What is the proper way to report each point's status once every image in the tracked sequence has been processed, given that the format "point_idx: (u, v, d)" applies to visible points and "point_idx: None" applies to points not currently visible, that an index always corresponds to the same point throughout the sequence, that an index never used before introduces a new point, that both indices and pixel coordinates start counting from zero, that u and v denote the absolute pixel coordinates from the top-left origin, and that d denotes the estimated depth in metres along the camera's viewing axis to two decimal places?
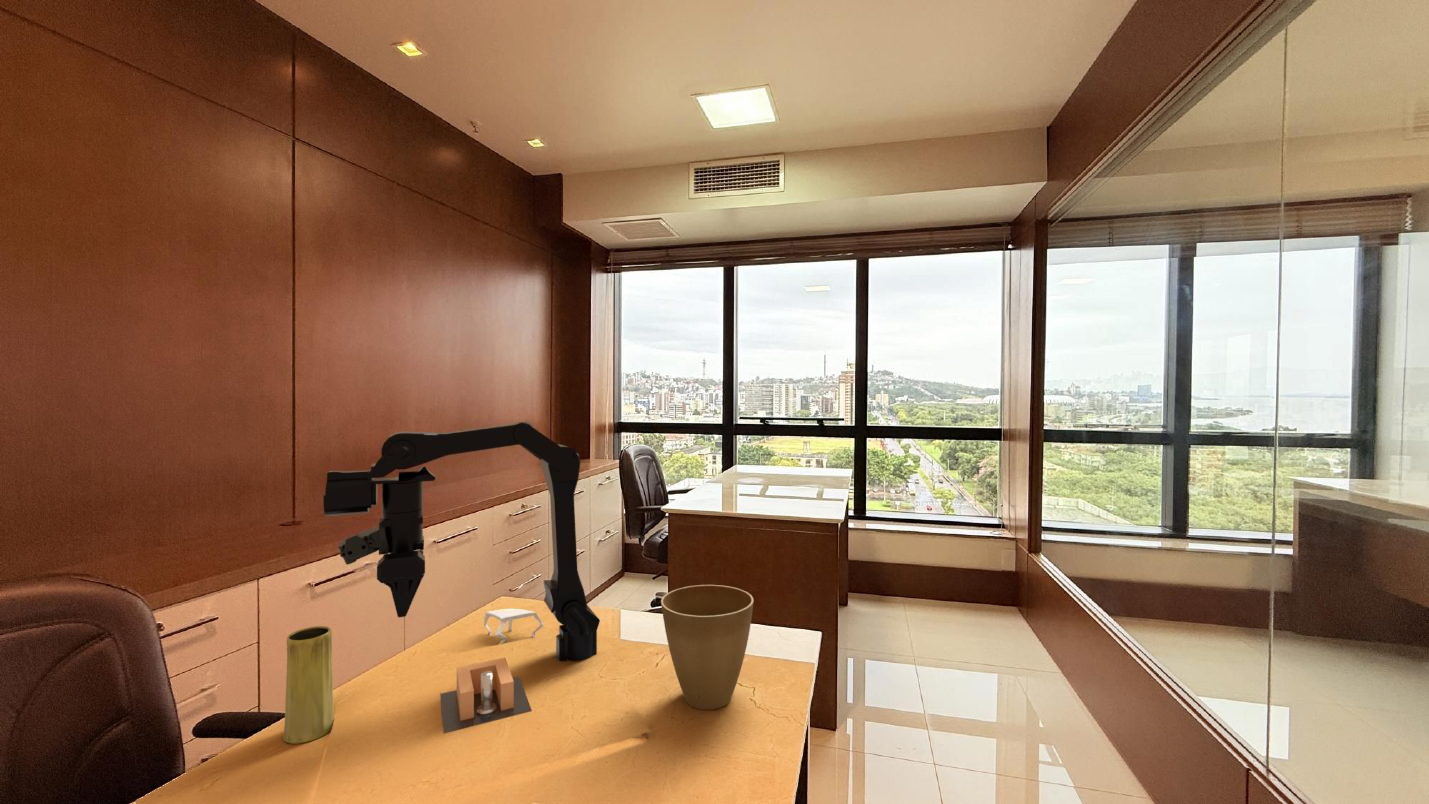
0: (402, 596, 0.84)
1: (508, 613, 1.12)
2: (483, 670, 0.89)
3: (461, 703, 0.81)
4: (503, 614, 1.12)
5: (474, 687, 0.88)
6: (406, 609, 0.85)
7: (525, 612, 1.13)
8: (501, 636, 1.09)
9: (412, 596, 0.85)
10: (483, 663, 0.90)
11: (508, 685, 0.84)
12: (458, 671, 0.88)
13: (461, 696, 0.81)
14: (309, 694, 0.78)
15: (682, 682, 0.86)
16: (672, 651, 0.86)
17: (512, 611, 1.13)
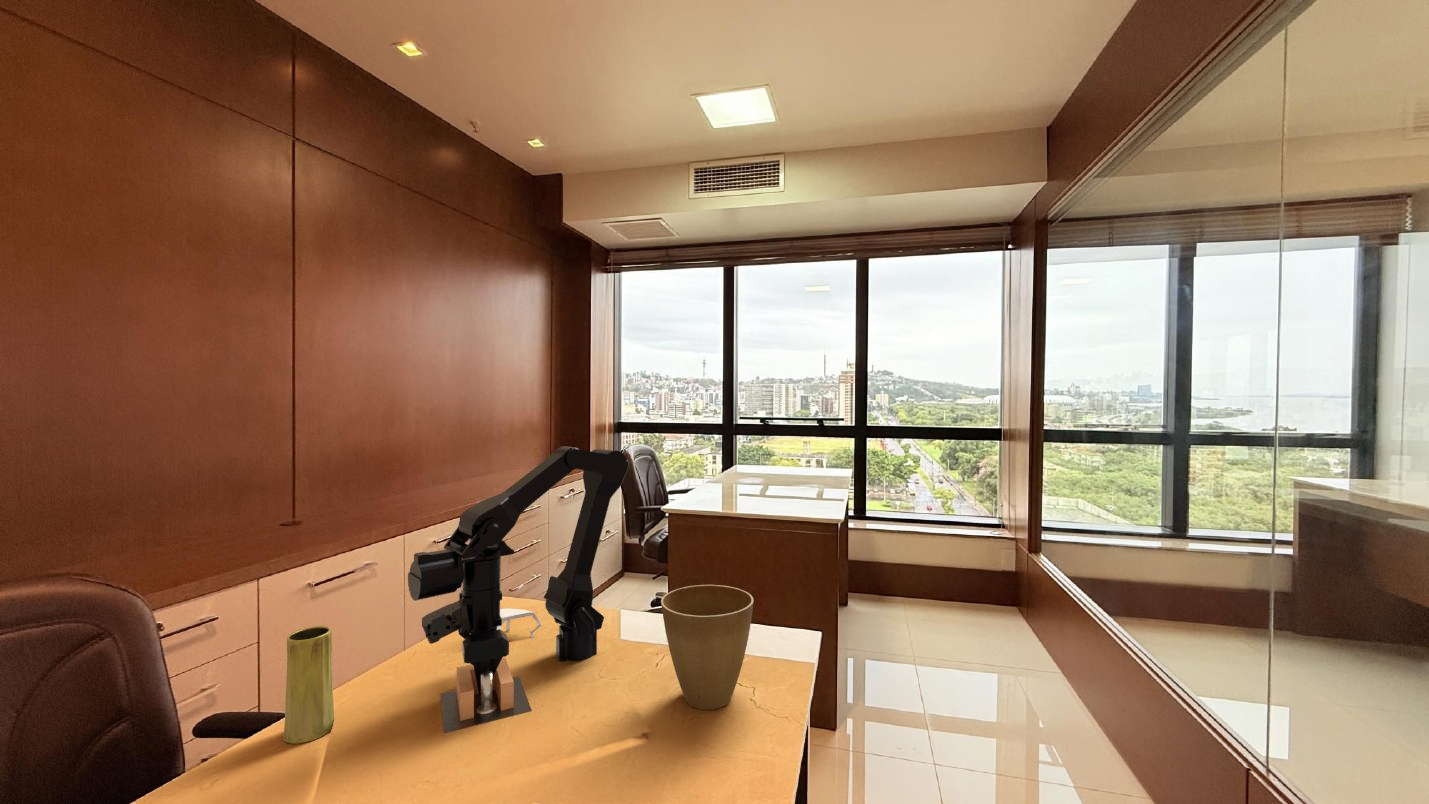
0: None
1: (506, 613, 1.12)
2: None
3: (461, 703, 0.81)
4: (501, 614, 1.12)
5: (474, 687, 0.88)
6: None
7: (523, 612, 1.13)
8: None
9: (493, 672, 0.86)
10: None
11: (508, 685, 0.84)
12: (458, 671, 0.88)
13: (461, 696, 0.81)
14: (309, 694, 0.78)
15: (682, 682, 0.86)
16: (672, 651, 0.86)
17: (510, 611, 1.13)
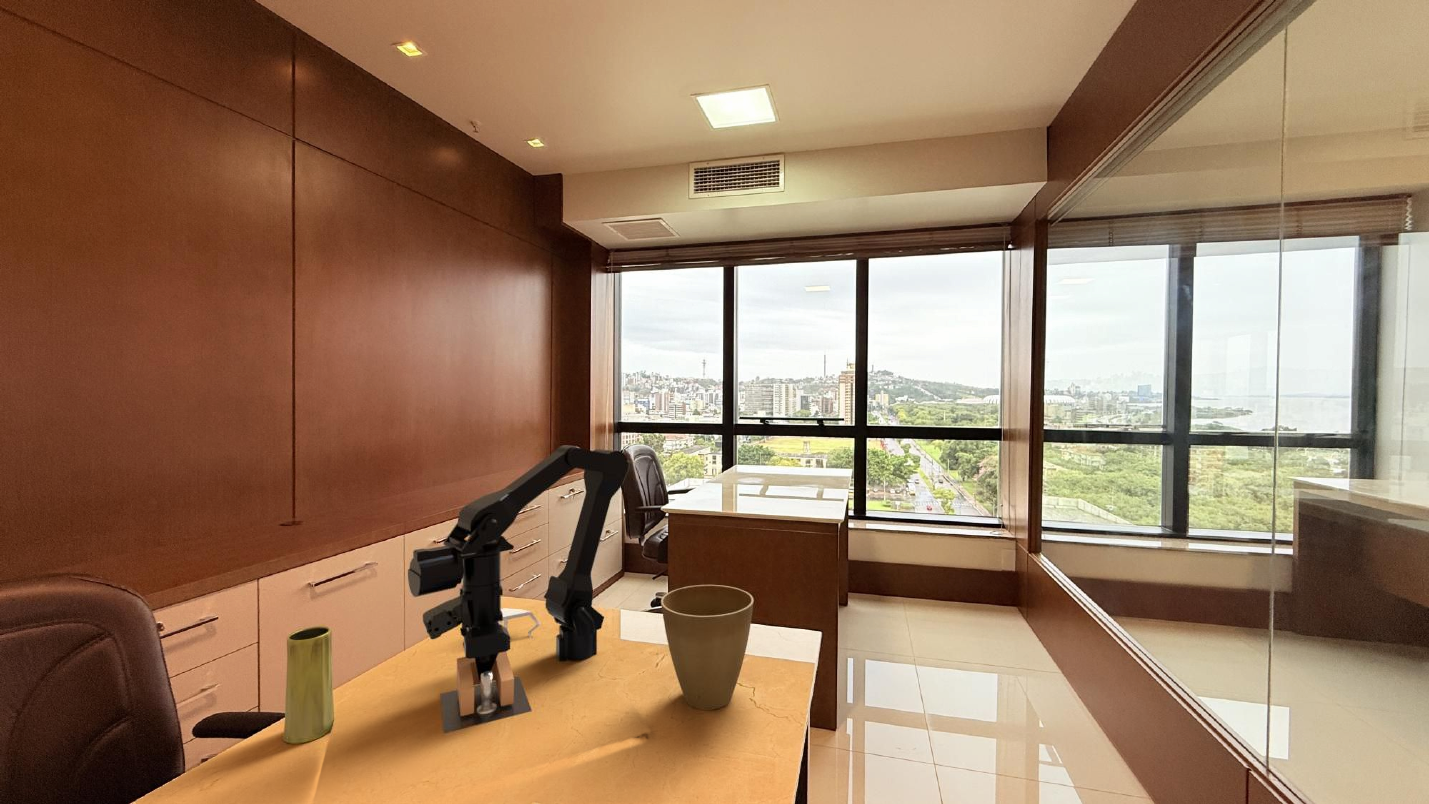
0: (484, 661, 0.88)
1: (504, 613, 1.12)
2: None
3: (461, 700, 0.81)
4: None
5: (474, 678, 0.89)
6: None
7: (521, 612, 1.13)
8: None
9: (493, 660, 0.89)
10: None
11: (508, 683, 0.84)
12: (458, 663, 0.88)
13: (461, 693, 0.81)
14: (309, 694, 0.78)
15: (682, 682, 0.86)
16: (672, 651, 0.86)
17: (508, 611, 1.13)
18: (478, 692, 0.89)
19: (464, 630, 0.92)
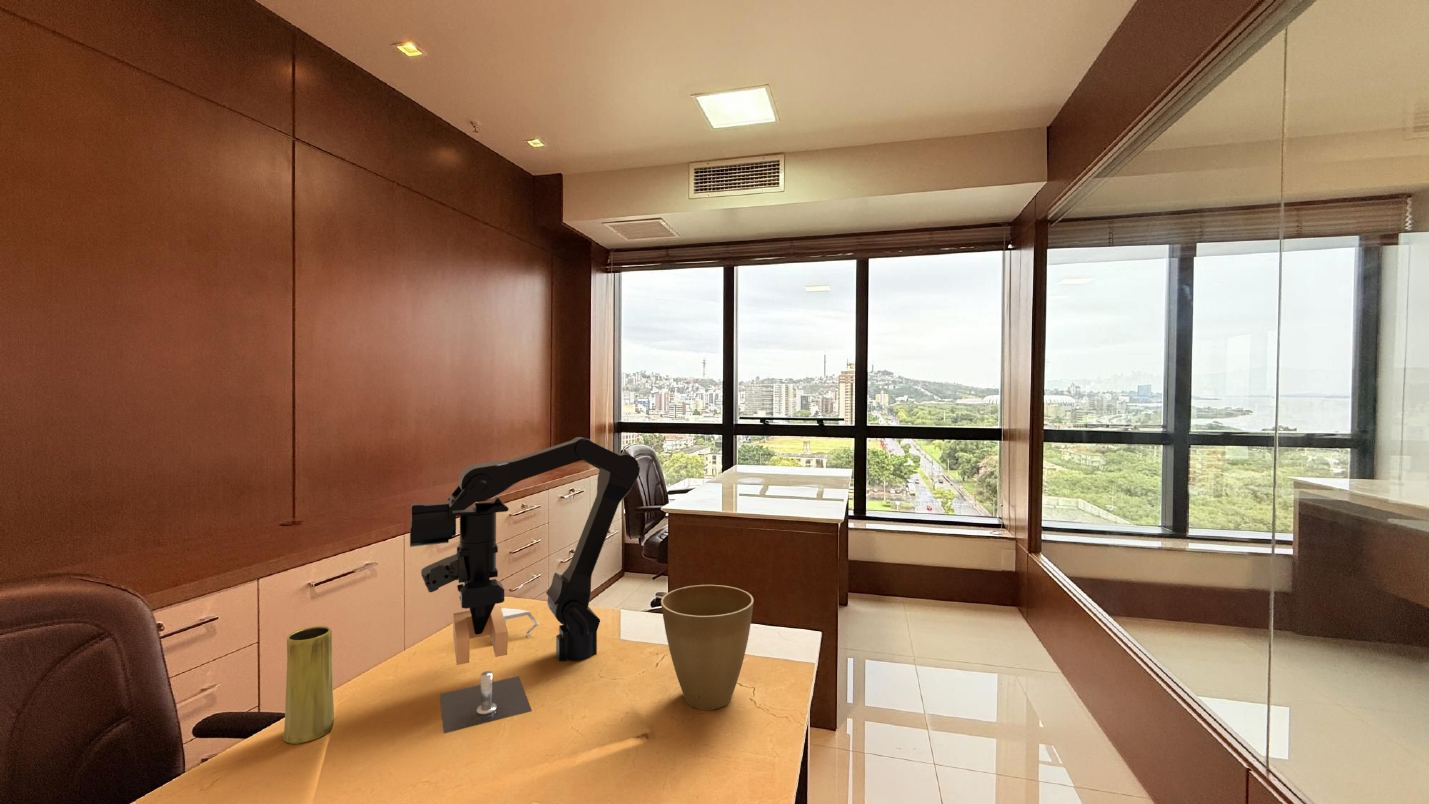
0: (479, 615, 0.92)
1: None
2: None
3: (457, 649, 0.85)
4: None
5: (470, 632, 0.93)
6: (482, 627, 0.93)
7: (519, 612, 1.13)
8: None
9: (488, 615, 0.93)
10: None
11: (502, 635, 0.88)
12: (455, 617, 0.92)
13: (457, 643, 0.85)
14: (309, 694, 0.78)
15: (682, 682, 0.86)
16: (672, 651, 0.86)
17: (506, 611, 1.13)
18: (478, 692, 0.89)
19: (461, 587, 0.96)
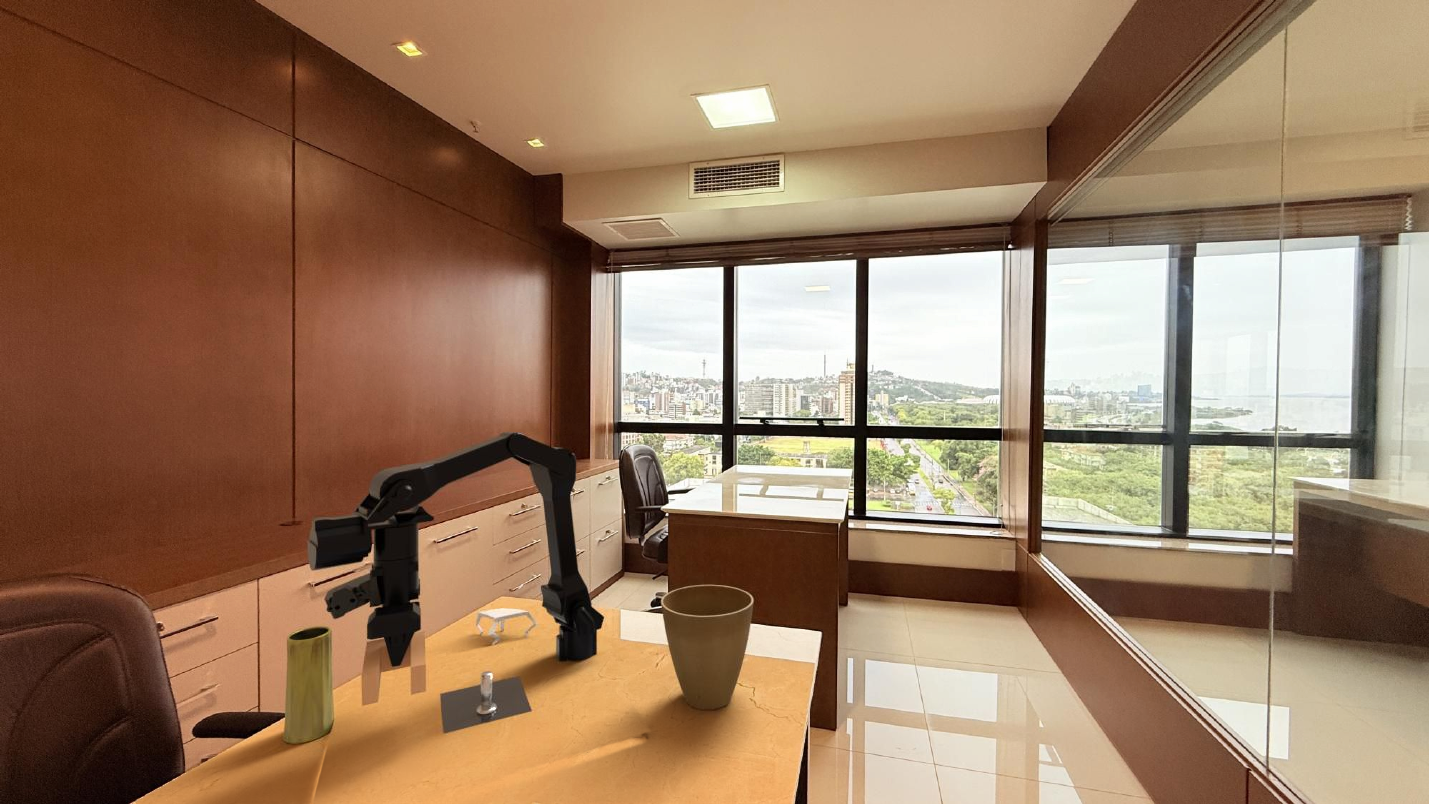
0: (396, 644, 0.79)
1: (501, 613, 1.12)
2: None
3: (362, 687, 0.72)
4: (496, 614, 1.12)
5: (386, 664, 0.80)
6: (401, 658, 0.80)
7: (518, 611, 1.13)
8: (494, 636, 1.09)
9: (407, 643, 0.80)
10: None
11: (419, 669, 0.75)
12: (367, 647, 0.78)
13: (362, 680, 0.72)
14: (309, 694, 0.78)
15: (682, 682, 0.86)
16: (672, 651, 0.86)
17: (505, 611, 1.13)
18: (478, 692, 0.89)
19: None
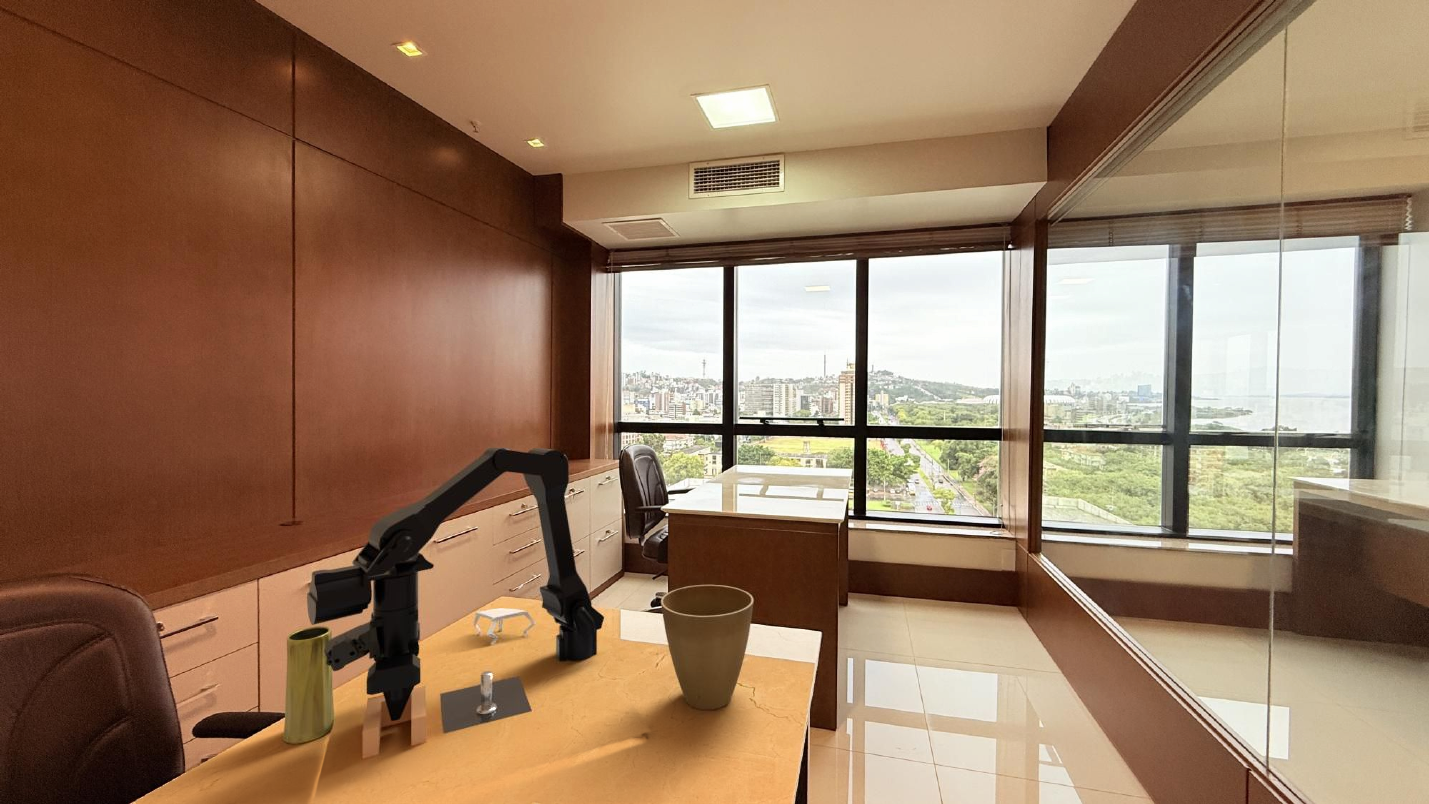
0: (396, 699, 0.78)
1: (499, 613, 1.12)
2: None
3: (363, 741, 0.73)
4: (494, 614, 1.12)
5: (386, 720, 0.80)
6: (400, 712, 0.78)
7: (516, 611, 1.13)
8: (493, 636, 1.09)
9: (407, 697, 0.78)
10: None
11: (419, 720, 0.76)
12: (368, 703, 0.79)
13: (363, 734, 0.73)
14: (309, 694, 0.78)
15: (682, 682, 0.86)
16: (672, 651, 0.86)
17: (503, 611, 1.13)
18: (478, 692, 0.89)
19: None
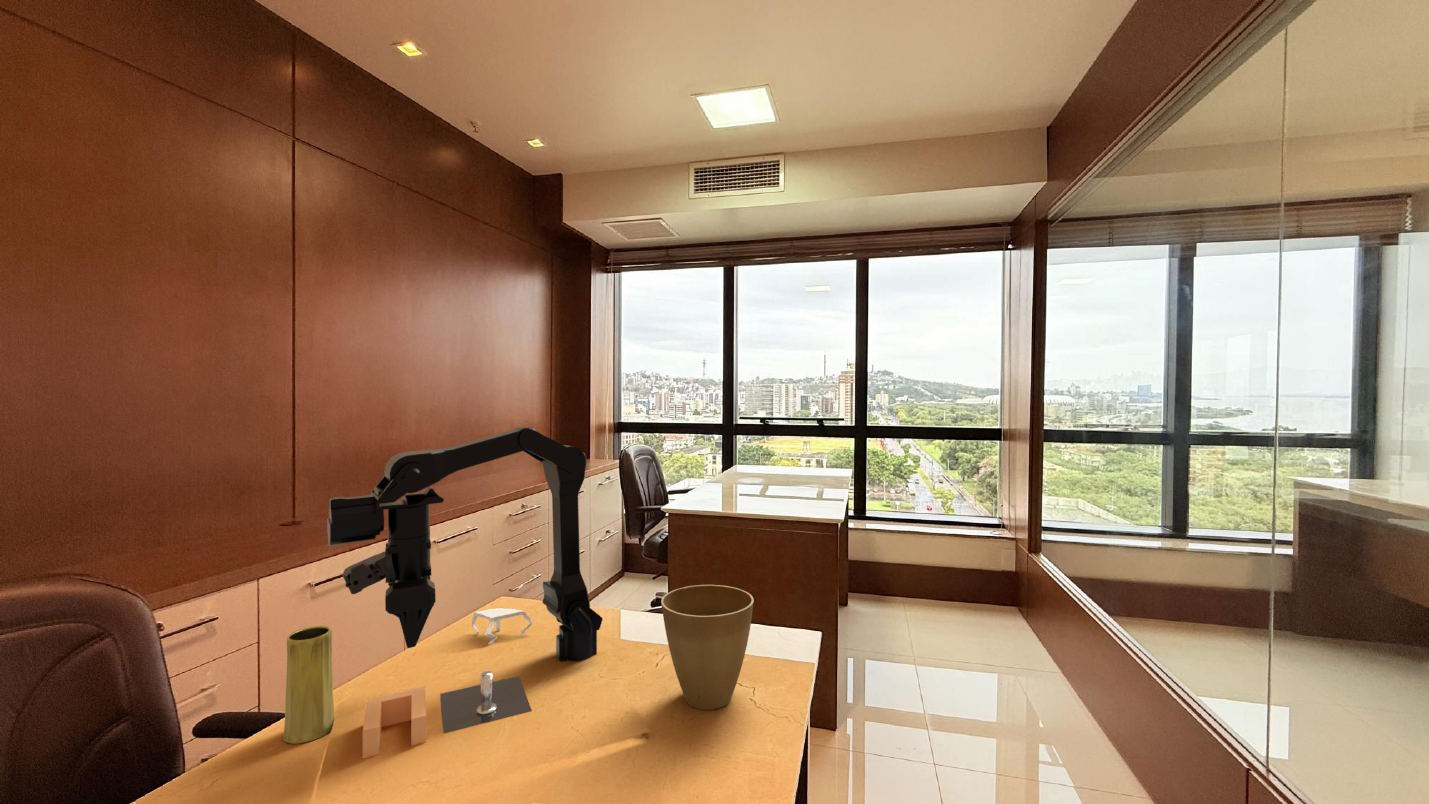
0: (411, 626, 0.80)
1: (497, 613, 1.12)
2: (397, 701, 0.80)
3: (363, 741, 0.73)
4: (492, 614, 1.12)
5: (386, 720, 0.80)
6: (416, 639, 0.81)
7: (514, 611, 1.13)
8: (491, 636, 1.09)
9: (422, 625, 0.81)
10: (398, 693, 0.82)
11: (419, 720, 0.76)
12: (368, 703, 0.79)
13: (363, 734, 0.73)
14: (309, 694, 0.78)
15: (682, 682, 0.86)
16: (672, 651, 0.86)
17: (501, 611, 1.13)
18: (478, 692, 0.89)
19: (392, 581, 0.90)
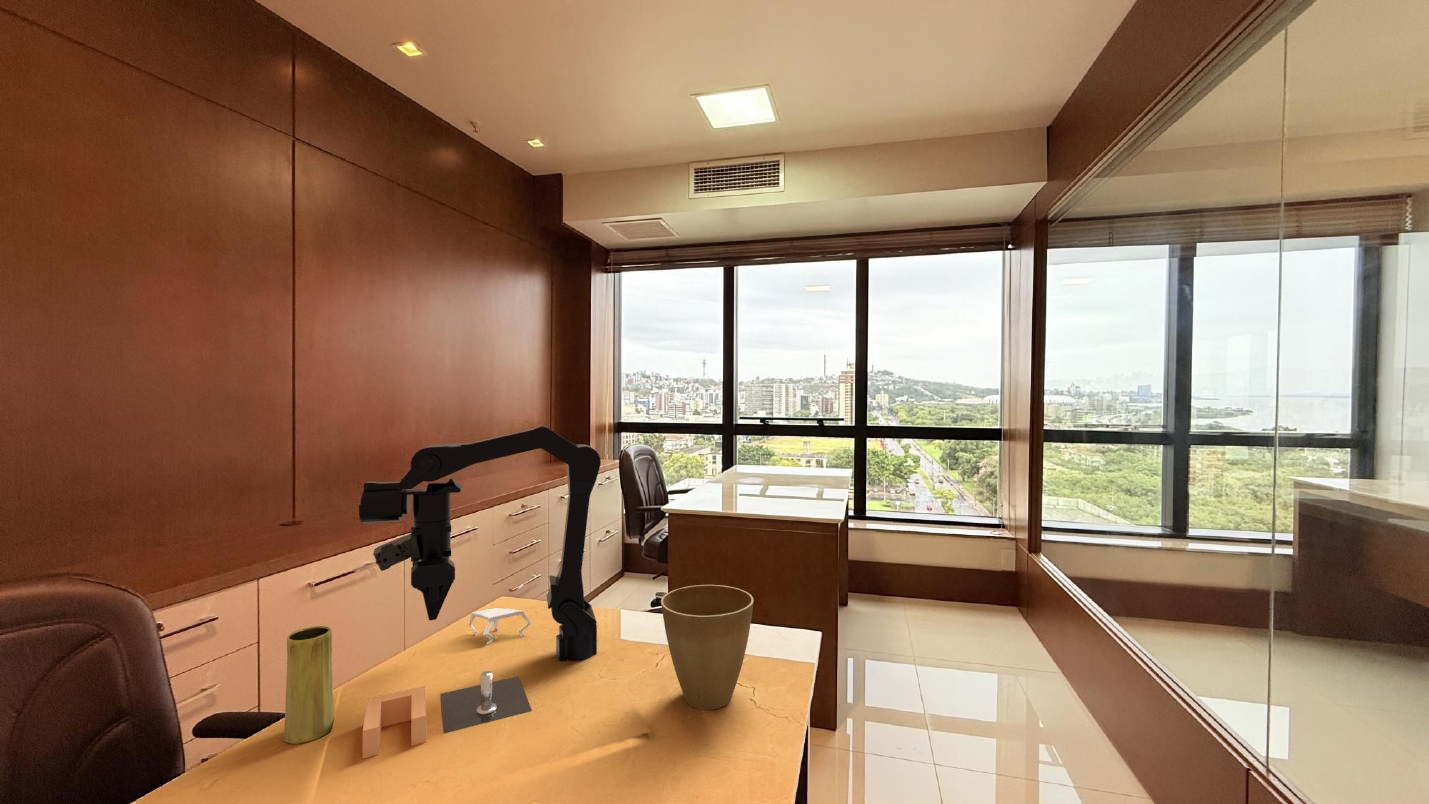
0: (433, 600, 0.90)
1: (495, 613, 1.12)
2: (397, 701, 0.80)
3: (363, 741, 0.73)
4: (490, 614, 1.12)
5: (386, 720, 0.80)
6: (436, 613, 0.90)
7: (512, 611, 1.13)
8: (489, 636, 1.09)
9: (442, 600, 0.90)
10: (398, 693, 0.82)
11: (419, 720, 0.76)
12: (368, 703, 0.79)
13: (363, 734, 0.73)
14: (309, 694, 0.78)
15: (682, 682, 0.86)
16: (672, 651, 0.86)
17: (498, 611, 1.14)
18: (478, 692, 0.89)
19: (416, 562, 0.99)
